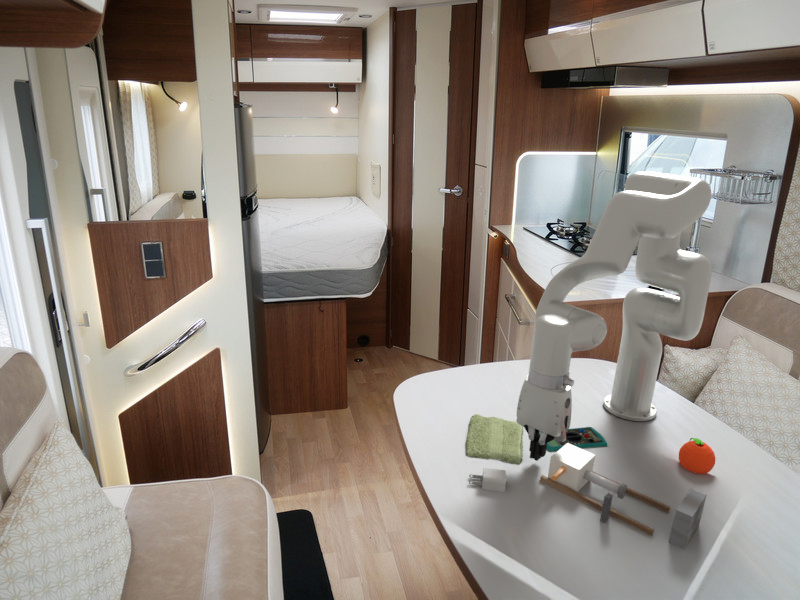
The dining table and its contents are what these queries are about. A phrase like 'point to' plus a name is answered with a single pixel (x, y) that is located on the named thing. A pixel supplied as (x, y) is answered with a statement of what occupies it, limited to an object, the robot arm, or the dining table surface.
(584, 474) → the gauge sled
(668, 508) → the wooden rail slider
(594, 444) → the digital multimeter
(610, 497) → the dark grey block
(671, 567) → the dining table surface
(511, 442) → the washcloth
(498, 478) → the usb wall charger
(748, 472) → the dining table surface
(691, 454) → the clementine
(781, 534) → the dining table surface
